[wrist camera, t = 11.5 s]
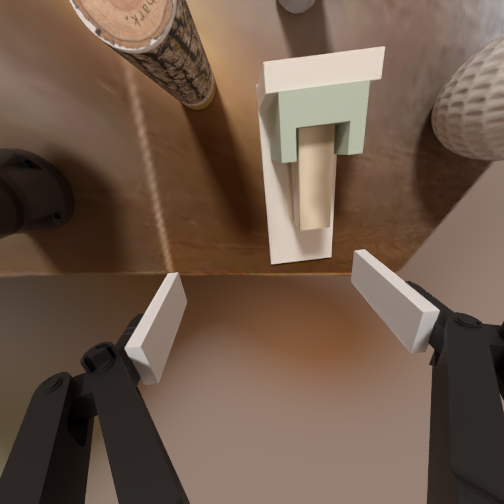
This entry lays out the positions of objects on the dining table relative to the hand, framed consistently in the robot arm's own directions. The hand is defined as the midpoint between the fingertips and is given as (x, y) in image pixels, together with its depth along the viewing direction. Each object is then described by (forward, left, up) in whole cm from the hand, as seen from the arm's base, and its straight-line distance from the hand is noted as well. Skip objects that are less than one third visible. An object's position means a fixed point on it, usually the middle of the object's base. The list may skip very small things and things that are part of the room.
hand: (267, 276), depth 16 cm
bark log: (-7, +19, -31) cm, 37 cm away
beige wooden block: (+10, +3, -30) cm, 32 cm away
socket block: (+10, +10, -30) cm, 33 cm away
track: (+10, +1, -31) cm, 32 cm away
